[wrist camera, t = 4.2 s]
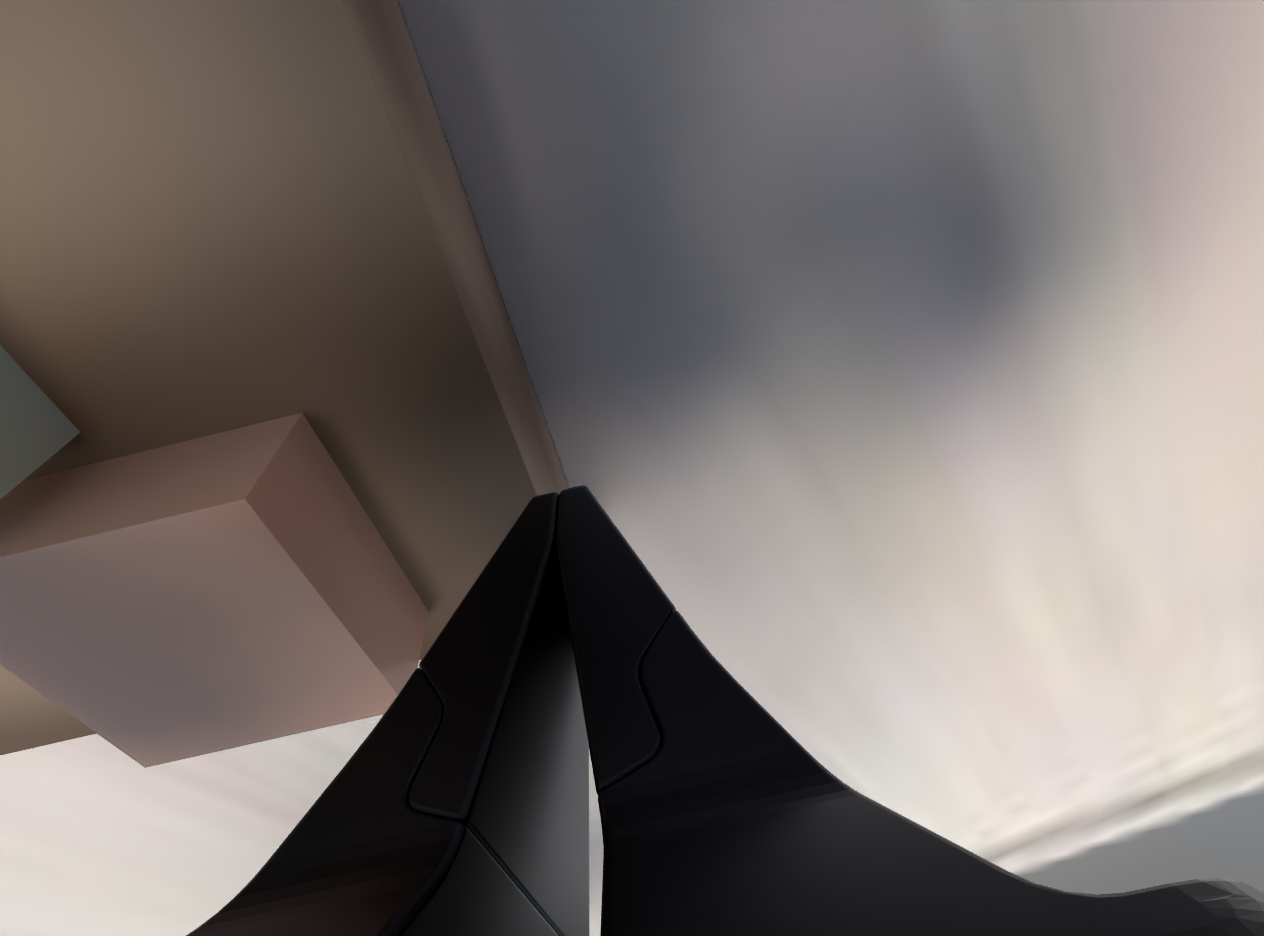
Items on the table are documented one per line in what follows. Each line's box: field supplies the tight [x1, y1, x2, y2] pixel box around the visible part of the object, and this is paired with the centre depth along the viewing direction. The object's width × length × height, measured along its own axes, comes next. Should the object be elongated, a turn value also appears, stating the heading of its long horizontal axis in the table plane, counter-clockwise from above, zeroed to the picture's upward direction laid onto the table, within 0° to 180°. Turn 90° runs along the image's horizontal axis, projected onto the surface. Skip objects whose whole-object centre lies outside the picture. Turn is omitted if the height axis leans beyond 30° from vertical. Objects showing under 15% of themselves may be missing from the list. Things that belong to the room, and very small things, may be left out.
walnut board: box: [0, 0, 569, 755], centre depth 10 cm, size 12×14×3 cm
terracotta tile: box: [0, 413, 429, 767], centre depth 9 cm, size 4×4×2 cm
